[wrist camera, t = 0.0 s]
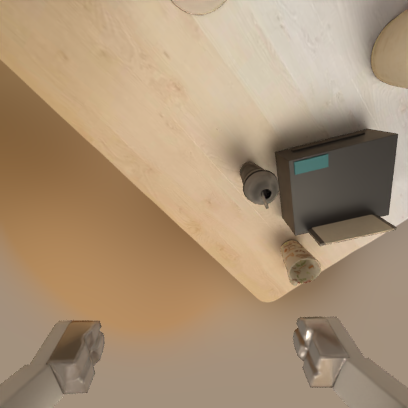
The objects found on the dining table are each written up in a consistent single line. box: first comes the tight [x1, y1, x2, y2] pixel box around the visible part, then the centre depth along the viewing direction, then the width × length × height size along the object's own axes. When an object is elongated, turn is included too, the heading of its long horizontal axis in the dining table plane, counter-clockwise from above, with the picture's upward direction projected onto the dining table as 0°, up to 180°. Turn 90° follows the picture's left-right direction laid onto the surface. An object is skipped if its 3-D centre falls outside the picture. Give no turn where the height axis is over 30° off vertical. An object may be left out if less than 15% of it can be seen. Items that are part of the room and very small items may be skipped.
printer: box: [275, 129, 398, 246], centre depth 50 cm, size 19×22×16 cm
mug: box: [281, 240, 321, 286], centre depth 63 cm, size 8×13×10 cm, turn 0°
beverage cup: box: [240, 162, 279, 209], centre depth 47 cm, size 7×7×20 cm
